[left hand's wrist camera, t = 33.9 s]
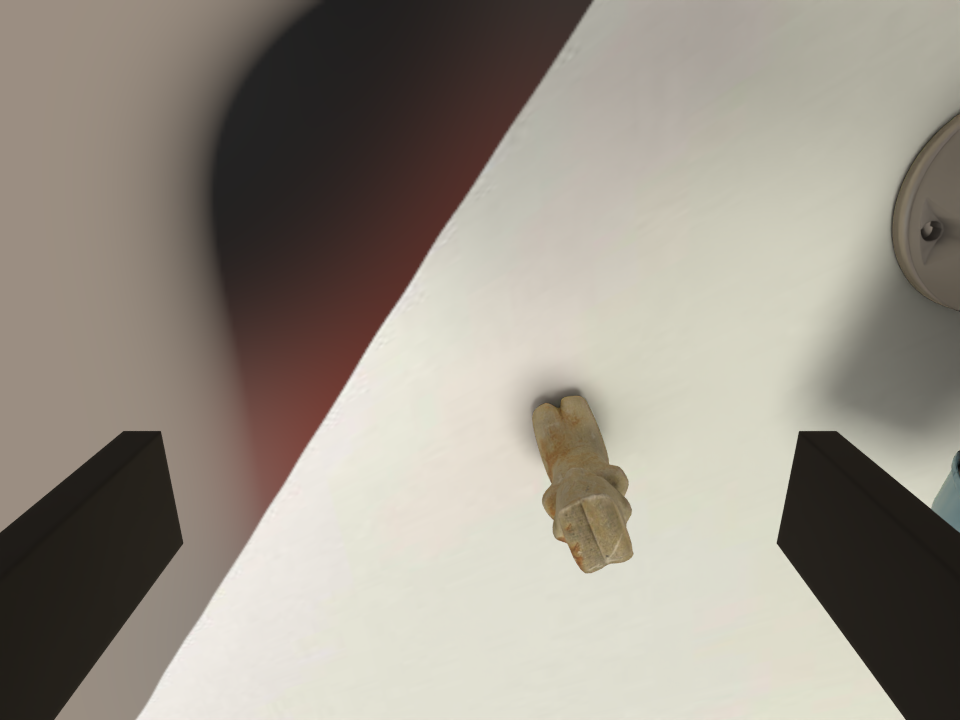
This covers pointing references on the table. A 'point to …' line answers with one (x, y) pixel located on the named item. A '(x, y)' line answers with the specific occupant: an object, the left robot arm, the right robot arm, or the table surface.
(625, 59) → the table surface
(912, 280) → the left robot arm
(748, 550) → the table surface
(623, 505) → the sculpture
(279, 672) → the table surface
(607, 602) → the table surface
